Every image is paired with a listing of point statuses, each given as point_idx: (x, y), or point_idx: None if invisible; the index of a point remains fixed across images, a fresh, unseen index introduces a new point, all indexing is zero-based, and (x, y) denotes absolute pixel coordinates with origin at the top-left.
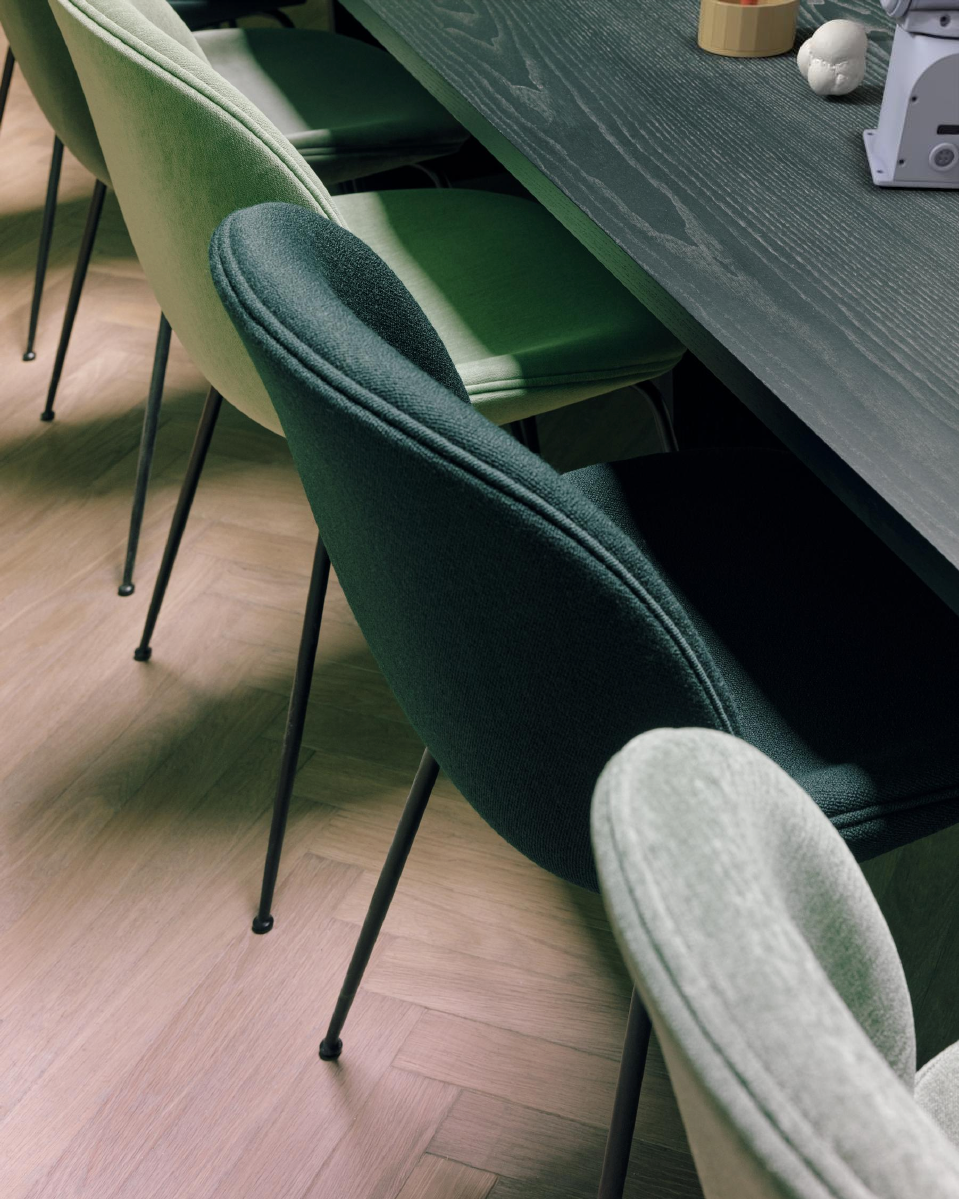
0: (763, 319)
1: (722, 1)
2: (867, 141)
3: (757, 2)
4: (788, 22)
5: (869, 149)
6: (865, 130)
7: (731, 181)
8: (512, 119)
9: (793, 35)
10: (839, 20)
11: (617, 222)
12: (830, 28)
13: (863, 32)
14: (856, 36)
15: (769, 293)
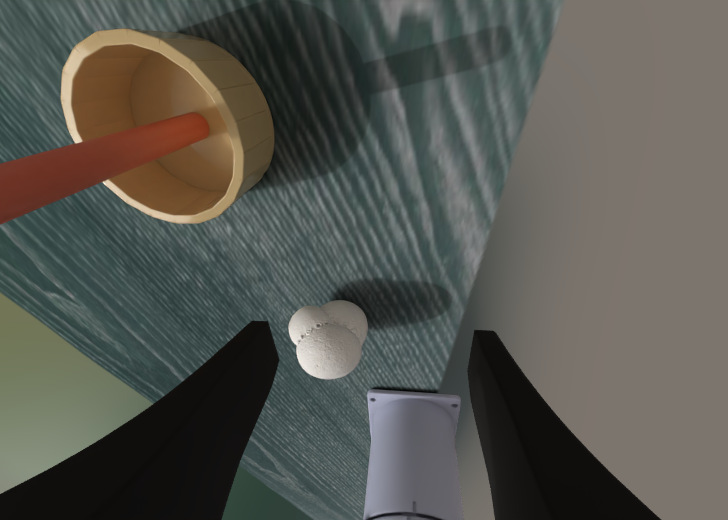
0: (324, 512)
1: (105, 70)
2: (369, 409)
3: (178, 141)
4: (251, 182)
5: (370, 419)
6: (368, 395)
7: (286, 432)
8: (101, 356)
9: (267, 151)
10: (319, 371)
11: (241, 461)
12: (312, 375)
13: (351, 367)
14: (344, 375)
15: (324, 502)
